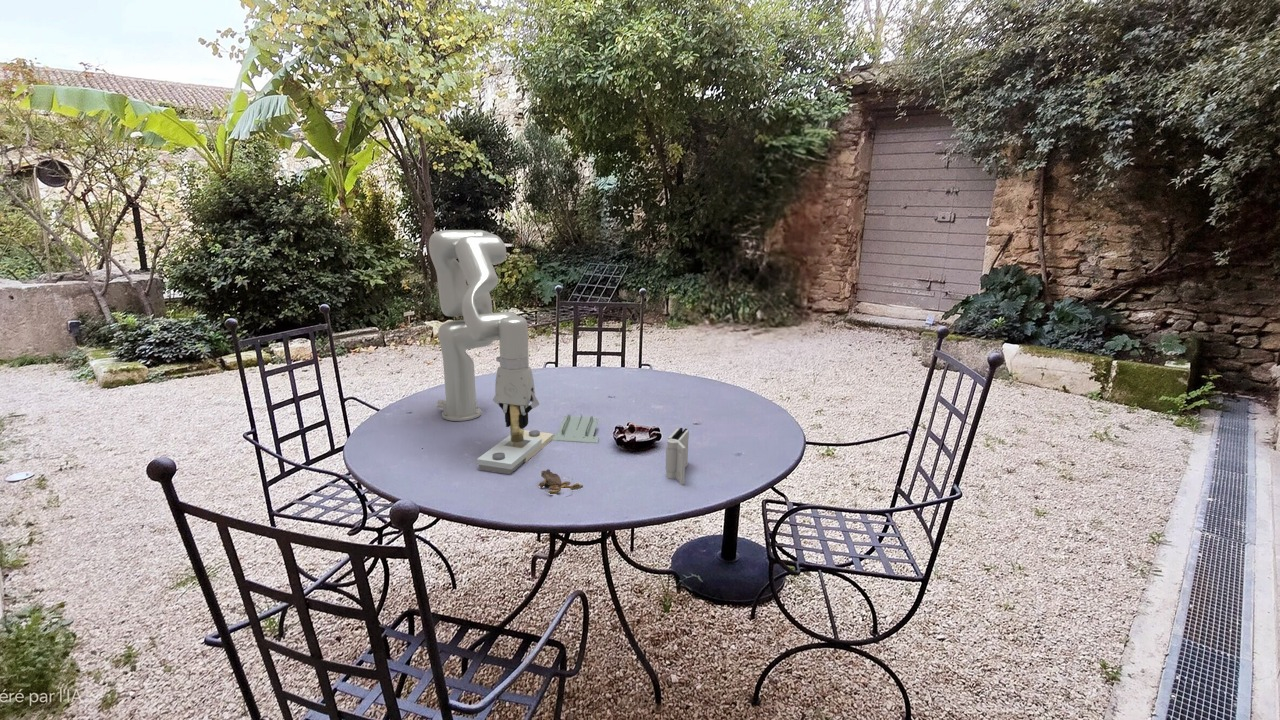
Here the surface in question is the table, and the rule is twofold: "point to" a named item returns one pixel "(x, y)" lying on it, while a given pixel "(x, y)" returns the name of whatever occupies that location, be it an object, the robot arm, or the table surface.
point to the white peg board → (513, 452)
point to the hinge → (677, 454)
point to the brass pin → (515, 424)
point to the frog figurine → (557, 482)
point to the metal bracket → (577, 430)
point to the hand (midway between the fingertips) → (516, 425)
